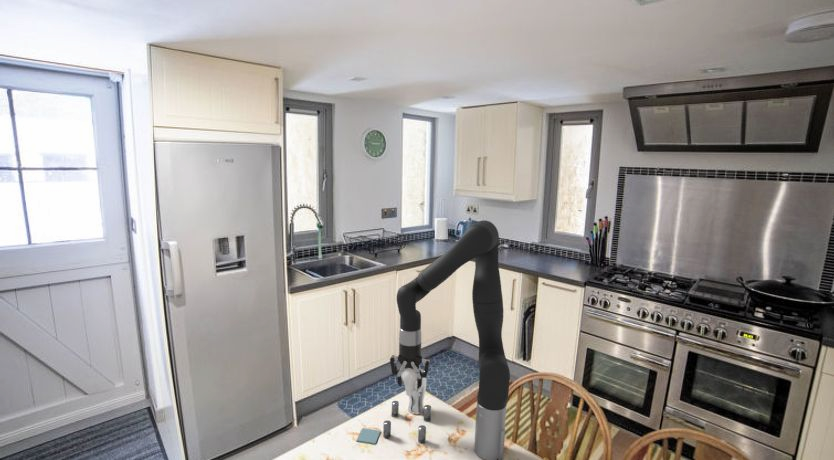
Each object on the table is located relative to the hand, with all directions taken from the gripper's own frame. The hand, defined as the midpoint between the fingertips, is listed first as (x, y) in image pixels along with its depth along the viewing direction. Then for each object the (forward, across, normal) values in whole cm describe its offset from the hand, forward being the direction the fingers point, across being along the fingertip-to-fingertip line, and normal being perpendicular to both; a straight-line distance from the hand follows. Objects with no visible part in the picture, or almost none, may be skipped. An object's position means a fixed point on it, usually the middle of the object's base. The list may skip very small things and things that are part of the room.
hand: (409, 386), depth 140 cm
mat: (+15, +12, +8) cm, 21 cm away
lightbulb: (+4, 0, 0) cm, 4 cm away
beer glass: (+16, 0, -11) cm, 19 cm away
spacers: (+16, 0, 0) cm, 16 cm away
